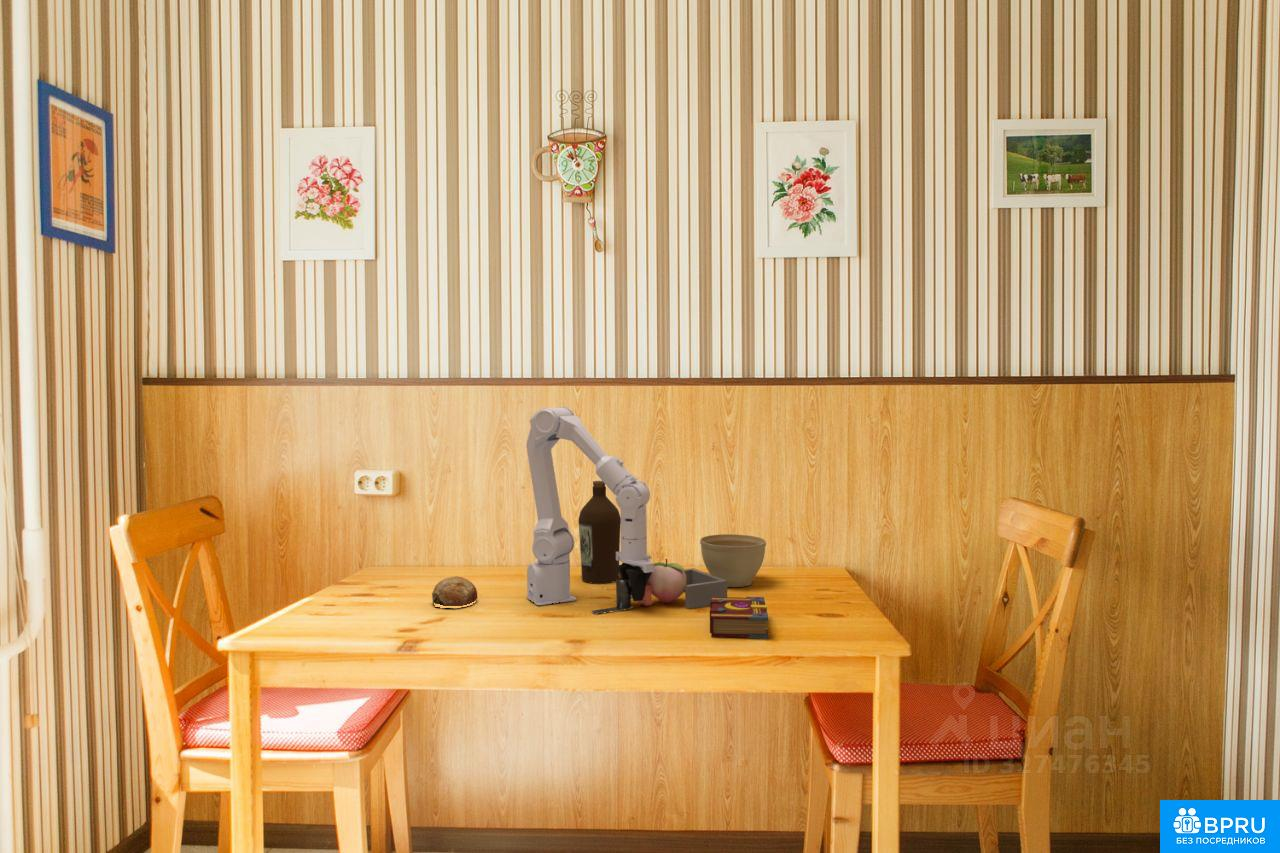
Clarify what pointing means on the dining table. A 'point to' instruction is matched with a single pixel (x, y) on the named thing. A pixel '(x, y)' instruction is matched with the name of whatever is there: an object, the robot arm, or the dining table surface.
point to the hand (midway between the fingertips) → (634, 598)
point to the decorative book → (738, 617)
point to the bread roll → (454, 592)
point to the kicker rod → (630, 594)
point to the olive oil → (599, 537)
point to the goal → (702, 588)
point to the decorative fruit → (667, 581)
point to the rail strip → (608, 610)
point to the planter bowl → (733, 557)
